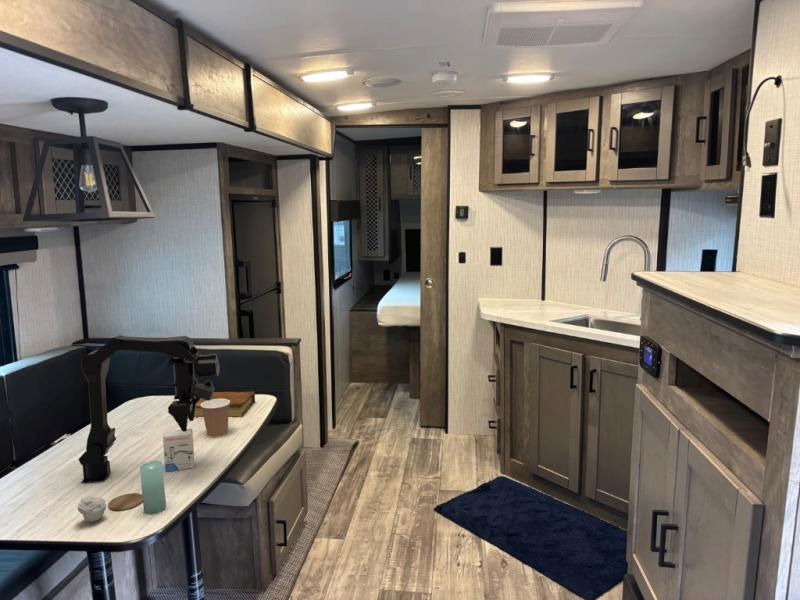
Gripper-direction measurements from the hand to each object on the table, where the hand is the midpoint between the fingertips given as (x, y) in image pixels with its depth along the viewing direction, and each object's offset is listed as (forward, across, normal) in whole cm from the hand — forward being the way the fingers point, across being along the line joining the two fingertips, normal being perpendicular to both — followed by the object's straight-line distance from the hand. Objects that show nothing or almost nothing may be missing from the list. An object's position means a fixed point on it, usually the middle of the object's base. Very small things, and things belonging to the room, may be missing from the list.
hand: (188, 425), depth 173 cm
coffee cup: (+15, +30, -3) cm, 34 cm away
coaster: (+15, -18, +14) cm, 27 cm away
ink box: (+15, +3, +4) cm, 16 cm away
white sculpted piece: (+15, -27, +19) cm, 36 cm away
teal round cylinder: (+15, -23, +4) cm, 28 cm away
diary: (+15, +58, +1) cm, 60 cm away
